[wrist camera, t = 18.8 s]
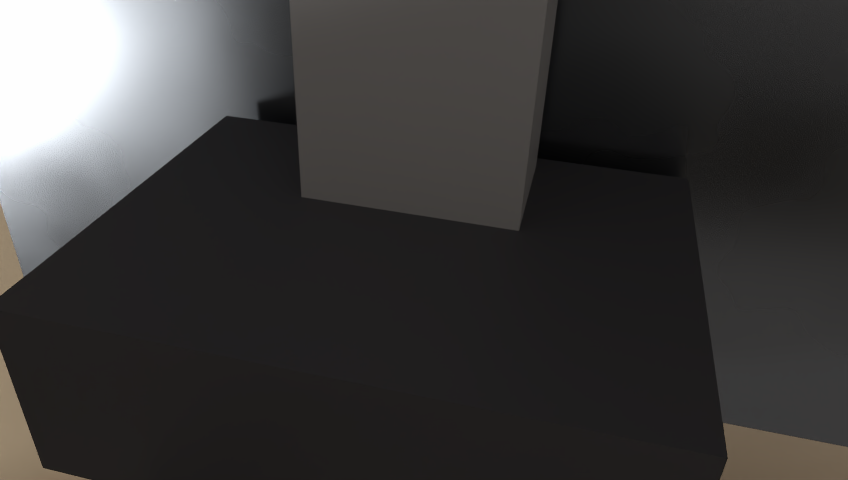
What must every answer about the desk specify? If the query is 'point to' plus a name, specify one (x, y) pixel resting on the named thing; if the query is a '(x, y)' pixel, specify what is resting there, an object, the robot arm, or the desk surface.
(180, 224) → the sliding jaw
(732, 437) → the desk surface
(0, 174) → the vise base
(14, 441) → the desk surface
